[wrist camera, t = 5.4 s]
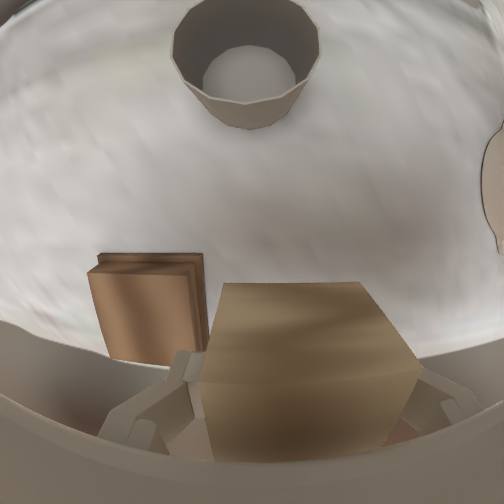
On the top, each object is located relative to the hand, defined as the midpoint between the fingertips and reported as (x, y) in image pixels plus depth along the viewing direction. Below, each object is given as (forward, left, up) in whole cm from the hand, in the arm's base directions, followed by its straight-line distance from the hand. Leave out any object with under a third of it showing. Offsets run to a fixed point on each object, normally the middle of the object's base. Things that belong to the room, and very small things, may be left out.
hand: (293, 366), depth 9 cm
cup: (+2, -14, -17) cm, 22 cm away
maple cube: (0, 0, -2) cm, 2 cm away
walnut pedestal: (+12, +7, -17) cm, 22 cm away
